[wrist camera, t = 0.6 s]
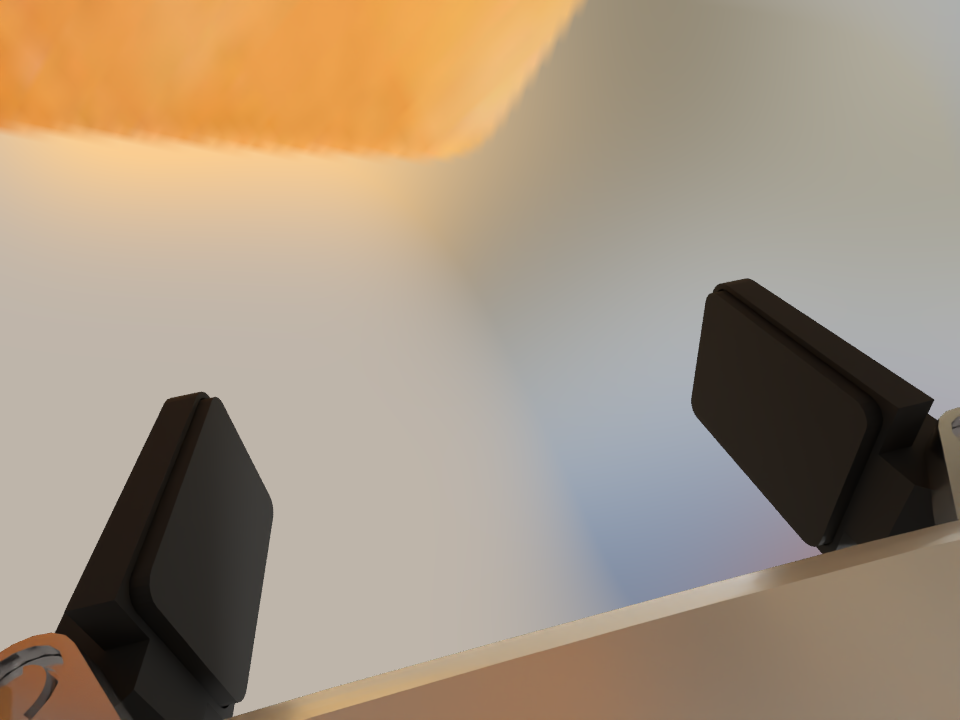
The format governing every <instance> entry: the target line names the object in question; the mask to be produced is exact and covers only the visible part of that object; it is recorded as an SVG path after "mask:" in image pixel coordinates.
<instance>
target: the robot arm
mask: <svg viewBox="0 0 960 720" xmlns="http://www.w3.org/2000/svg"><path fill="white" fill-rule="evenodd" d="M933 401H934V399H932V398H931V397H929V396H928V395H926V394H925V393H923V392H922V391H920V390H919V389H917V388H916V387H914V386H913V385H911V384H910V383H908V382H907V381H905V380H904V379H902V378H901V377H899V376H898V375H896V374H895V373H893V372H891V371H890V370H888V369H887V368H885V367H884V366H882V365H881V364H879V363H878V362H876V361H875V360H873V359H872V358H870V357H869V356H867V355H866V354H864V353H862V352H861V351H860V350H858V349H857V348H855V347H854V346H852V345H851V344H849V343H847V342H846V341H844V340H843V339H841V338H840V337H838V336H837V335H835V334H834V333H832V332H831V331H829V330H828V329H826V328H825V327H823V326H822V325H820V324H819V323H817V322H816V321H814V320H812V319H811V318H809V317H808V316H806V315H805V314H803V313H802V312H800V311H799V310H797V309H796V308H794V307H793V306H791V305H790V304H788V303H787V302H785V301H784V300H782V299H781V298H779V297H778V296H776V295H774V294H773V293H771V292H770V291H768V290H767V289H765V288H764V287H762V286H761V285H759V284H758V283H756V282H755V281H753V280H751V279H741V280H736V281H732V282H727V283H722V284H719V285H717V286H716V287H715V289H714V290H713V293H711V294H709V295H708V297H707V299H706V303H705V310H704V317H703V324H702V330H701V337H700V343H699V351H698V357H697V364H696V371H695V377H694V384H693V391H692V398H691V404H692V408H693V411H694V413H695V415H696V417H697V418H698V419H699V420H700V421H701V423H702V424H703V425H704V426H705V427H706V428H707V430H708V431H709V432H710V433H711V434H712V435H713V437H714V438H715V439H716V440H717V441H718V442H719V443H720V445H721V446H722V447H723V448H724V449H725V450H726V452H727V453H728V454H729V455H730V456H731V457H732V458H733V460H734V461H735V462H736V463H737V464H738V465H739V467H740V468H741V469H742V470H743V471H744V473H745V474H746V475H747V476H748V477H749V478H750V480H751V481H752V482H753V483H754V484H755V485H756V486H757V488H758V489H759V490H760V491H761V492H762V493H763V495H764V496H765V497H766V498H767V499H768V500H769V502H770V503H771V504H772V505H773V506H774V507H775V509H776V510H777V511H778V512H779V513H780V514H781V515H782V517H783V518H784V519H785V520H786V521H787V522H788V524H789V525H790V526H791V527H792V528H793V529H794V530H795V532H796V533H797V534H798V535H799V536H800V537H801V538H802V540H803V541H804V542H805V543H807V544H808V545H810V546H814V547H815V546H816V547H817V548H818V549H819V550H820V552H821V553H822V554H821V555H817V556H814V557H810V558H806V559H802V560H799V561H795V562H791V563H787V564H783V565H780V566H776V567H772V568H768V569H765V570H761V571H757V572H753V573H750V574H746V575H742V576H739V577H735V578H731V579H727V580H723V581H720V582H716V583H712V584H708V585H704V586H701V587H697V588H693V589H690V590H686V591H682V592H679V593H675V594H671V595H667V596H664V597H660V598H656V599H653V600H650V601H646V602H642V603H638V604H634V605H631V606H627V607H624V608H620V609H616V610H613V611H609V612H605V613H601V614H598V615H594V616H590V617H587V618H583V619H579V620H576V621H572V622H568V623H564V624H561V625H557V626H554V627H550V628H546V629H542V630H539V631H535V632H532V633H528V634H524V635H521V636H517V637H513V638H510V639H506V640H502V641H499V642H495V643H492V644H488V645H484V646H481V647H477V648H473V649H470V650H466V651H463V652H459V653H456V654H452V655H448V656H445V657H441V658H438V659H434V660H430V661H427V662H423V663H420V664H416V665H412V666H409V667H405V668H402V669H398V670H394V671H391V672H387V673H383V674H380V675H376V676H373V677H369V678H365V679H362V680H358V681H355V682H351V683H347V684H344V685H340V686H337V687H333V688H329V689H326V690H322V691H319V692H316V693H312V694H309V695H306V696H302V697H299V698H295V699H292V700H289V701H285V702H282V703H278V704H275V705H272V706H268V707H265V708H262V709H258V710H255V711H252V712H248V713H245V714H241V715H238V716H234V717H232V716H233V710H234V704H235V703H238V702H241V701H242V700H243V698H244V696H245V694H246V689H247V683H248V676H249V670H250V664H251V657H252V651H253V644H254V638H255V631H256V625H257V618H258V612H259V605H260V598H261V592H262V586H263V579H264V573H265V566H266V559H267V553H268V547H269V540H270V533H271V526H272V521H273V505H272V501H271V498H270V496H269V494H268V492H267V490H266V488H265V486H264V484H263V482H262V480H261V478H260V476H259V474H258V472H257V470H256V468H255V466H254V464H253V463H252V460H251V458H250V456H249V454H248V453H247V451H246V448H245V446H244V444H243V442H242V441H241V439H240V437H239V435H238V433H237V431H236V429H235V427H234V425H233V423H232V421H231V419H230V417H229V415H228V414H227V411H226V409H225V407H224V405H223V403H222V402H221V400H220V399H219V398H217V397H213V398H210V397H209V396H208V395H207V394H206V393H204V392H198V393H193V394H188V395H183V396H178V397H174V398H170V399H167V401H166V402H165V403H164V405H163V407H162V409H161V411H160V413H159V416H158V418H157V420H156V422H155V424H154V426H153V428H152V430H151V432H150V435H149V437H148V438H147V441H146V443H145V445H144V447H143V449H142V451H141V453H140V455H139V457H138V459H137V461H136V464H135V466H134V468H133V470H132V472H131V474H130V476H129V478H128V480H127V482H126V484H125V486H124V489H123V491H122V493H121V495H120V497H119V499H118V501H117V503H116V505H115V507H114V509H113V511H112V514H111V516H110V518H109V520H108V522H107V524H106V526H105V528H104V530H103V532H102V534H101V537H100V539H99V541H98V543H97V545H96V547H95V549H94V551H93V553H92V555H91V557H90V560H89V562H88V564H87V566H86V568H85V570H84V572H83V574H82V576H81V578H80V581H79V583H78V585H77V587H76V589H75V591H74V593H73V595H72V597H71V599H70V601H69V603H68V605H67V608H66V610H65V613H64V615H63V617H62V619H61V621H60V623H59V625H58V628H57V630H56V632H55V633H47V634H42V635H36V636H32V637H30V638H27V639H25V640H23V641H20V642H18V643H15V644H13V645H11V646H10V647H8V648H7V649H5V650H3V651H2V652H0V720H960V407H958V408H955V409H952V410H949V411H946V412H945V413H944V414H943V415H942V416H941V417H940V418H939V419H938V420H936V419H935V418H933V417H932V416H930V415H929V414H928V412H929V410H930V407H931V405H932V403H933Z"/></svg>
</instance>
